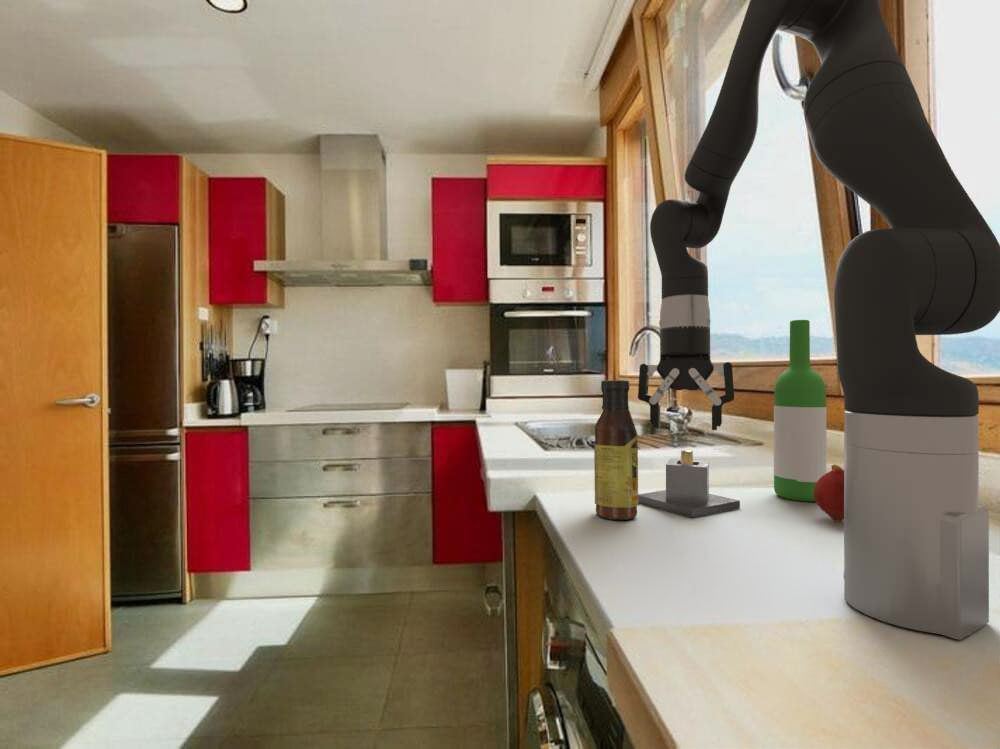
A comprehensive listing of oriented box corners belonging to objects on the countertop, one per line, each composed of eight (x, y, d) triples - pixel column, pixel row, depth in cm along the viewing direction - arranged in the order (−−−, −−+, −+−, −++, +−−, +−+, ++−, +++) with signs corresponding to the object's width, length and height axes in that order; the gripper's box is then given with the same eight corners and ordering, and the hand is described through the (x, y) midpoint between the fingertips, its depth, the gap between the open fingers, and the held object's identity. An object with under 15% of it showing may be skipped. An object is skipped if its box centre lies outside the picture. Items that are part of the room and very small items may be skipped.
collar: (708, 495, 84) (708, 461, 84) (707, 503, 79) (707, 467, 79) (670, 492, 87) (670, 459, 87) (665, 499, 81) (665, 464, 81)
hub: (739, 508, 81) (739, 452, 81) (692, 518, 75) (692, 458, 75) (682, 494, 90) (682, 444, 90) (636, 502, 85) (636, 449, 85)
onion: (848, 516, 76) (848, 461, 76) (872, 527, 71) (872, 468, 71) (806, 515, 77) (806, 460, 77) (826, 526, 71) (826, 467, 71)
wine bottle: (784, 490, 94) (785, 323, 94) (833, 498, 88) (833, 320, 88) (765, 496, 89) (765, 320, 89) (815, 505, 83) (816, 316, 83)
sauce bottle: (643, 522, 73) (643, 380, 73) (598, 521, 73) (598, 380, 73) (632, 510, 80) (632, 380, 80) (591, 509, 80) (591, 379, 80)
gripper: (733, 327, 84) (734, 429, 83) (642, 331, 89) (642, 426, 89) (734, 322, 77) (734, 432, 76) (635, 326, 82) (635, 429, 82)
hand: (685, 429), depth 83 cm, fingers open, 8 cm apart
